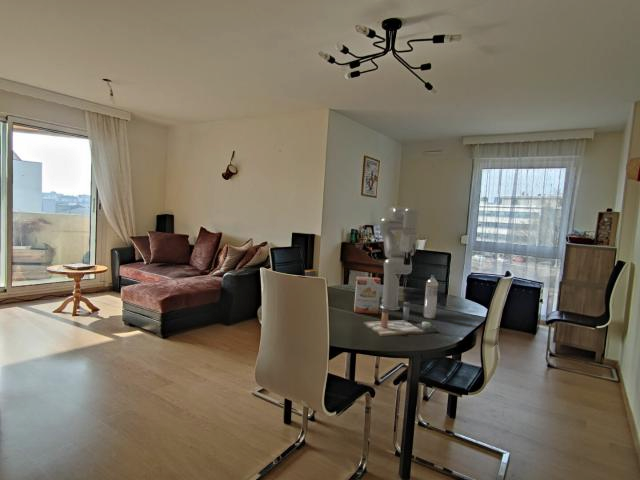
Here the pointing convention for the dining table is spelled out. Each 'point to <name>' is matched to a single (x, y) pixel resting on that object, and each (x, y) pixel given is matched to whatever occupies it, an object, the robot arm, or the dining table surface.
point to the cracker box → (367, 295)
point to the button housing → (426, 328)
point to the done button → (426, 324)
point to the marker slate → (406, 311)
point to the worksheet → (394, 328)
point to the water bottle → (430, 298)
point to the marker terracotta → (384, 317)
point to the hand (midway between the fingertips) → (406, 264)
